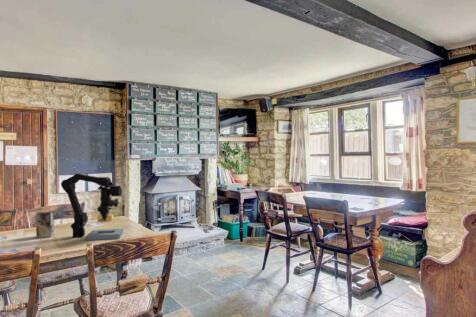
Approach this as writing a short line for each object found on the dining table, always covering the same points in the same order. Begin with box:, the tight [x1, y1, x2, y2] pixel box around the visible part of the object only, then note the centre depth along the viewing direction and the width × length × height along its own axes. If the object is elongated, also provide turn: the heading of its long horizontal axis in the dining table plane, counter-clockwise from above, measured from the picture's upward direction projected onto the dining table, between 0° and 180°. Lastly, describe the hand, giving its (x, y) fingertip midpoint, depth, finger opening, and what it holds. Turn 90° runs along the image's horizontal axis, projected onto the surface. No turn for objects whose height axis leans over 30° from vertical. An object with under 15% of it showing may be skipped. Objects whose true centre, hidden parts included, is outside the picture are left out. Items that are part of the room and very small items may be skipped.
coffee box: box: [35, 211, 55, 239], centre depth 215 cm, size 9×6×16 cm
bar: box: [97, 214, 115, 223], centre depth 213 cm, size 9×4×4 cm, turn 95°
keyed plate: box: [86, 228, 124, 241], centre depth 214 cm, size 20×16×3 cm
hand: (105, 219), depth 214 cm, fingers closed on bar, 5 cm apart
